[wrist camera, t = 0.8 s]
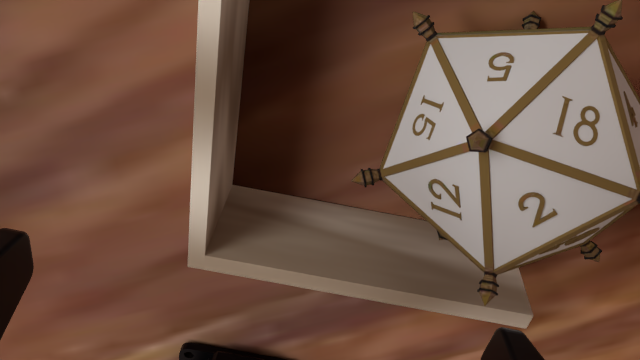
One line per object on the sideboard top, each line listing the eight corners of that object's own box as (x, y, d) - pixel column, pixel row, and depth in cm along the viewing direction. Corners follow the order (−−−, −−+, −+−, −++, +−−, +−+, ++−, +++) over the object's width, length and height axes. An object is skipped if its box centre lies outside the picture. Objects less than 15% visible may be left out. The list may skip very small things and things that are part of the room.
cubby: (503, 248, 24) (525, 328, 20) (217, 195, 24) (187, 266, 20) (669, -107, 16) (756, -82, 12) (246, -192, 16) (206, -192, 12)
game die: (520, 26, 22) (821, 83, 15) (442, 216, 24) (673, 356, 17) (354, -62, 17) (691, -45, 9) (270, 191, 19) (494, 381, 11)
